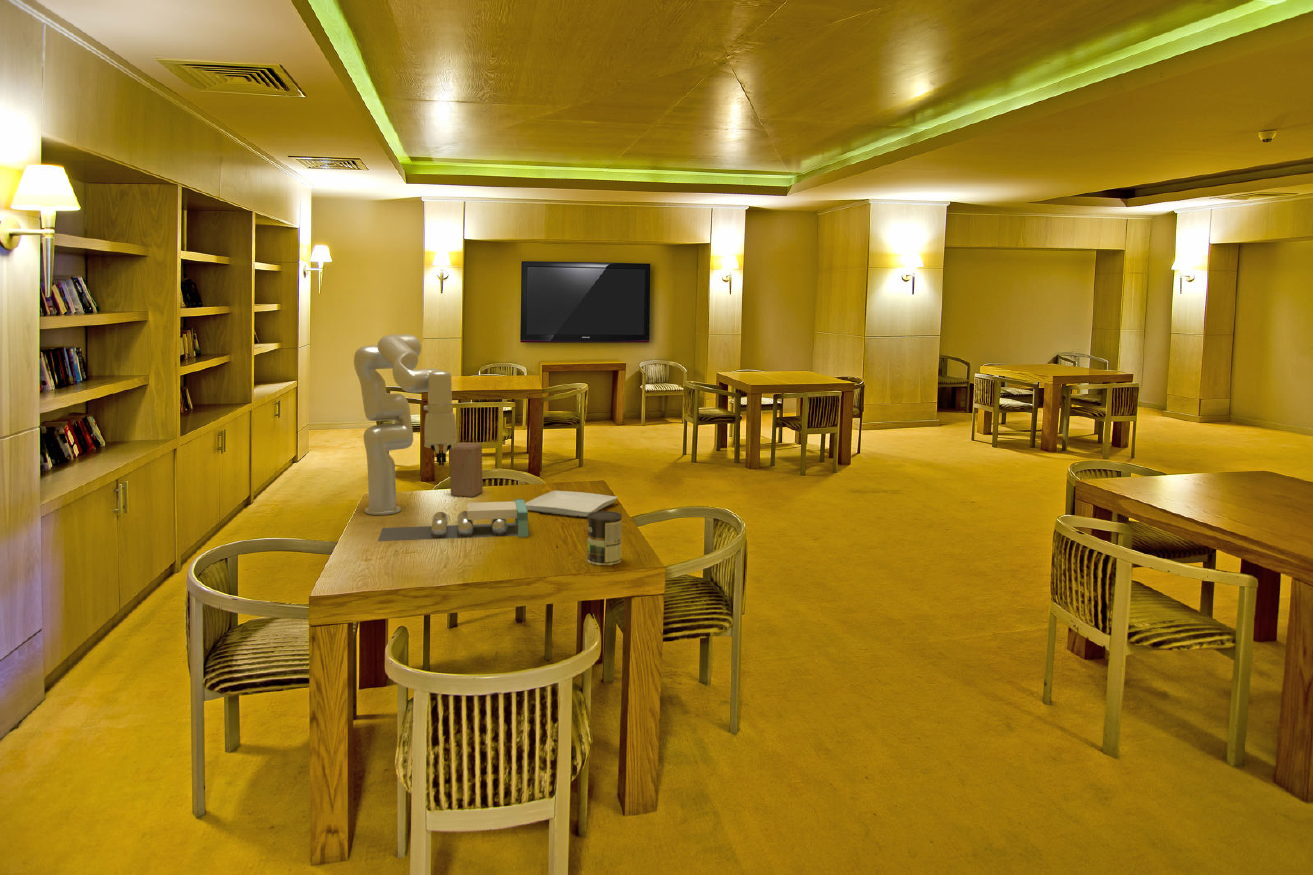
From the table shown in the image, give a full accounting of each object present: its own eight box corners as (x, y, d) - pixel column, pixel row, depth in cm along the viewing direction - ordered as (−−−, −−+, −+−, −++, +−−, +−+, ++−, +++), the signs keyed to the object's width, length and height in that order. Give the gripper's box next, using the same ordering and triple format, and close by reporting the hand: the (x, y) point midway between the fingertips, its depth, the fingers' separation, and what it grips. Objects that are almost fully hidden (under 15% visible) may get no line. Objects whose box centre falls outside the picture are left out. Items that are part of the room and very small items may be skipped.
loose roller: (489, 522, 317) (492, 508, 316) (504, 525, 318) (506, 511, 317) (491, 534, 301) (493, 520, 301) (506, 537, 302) (509, 522, 302)
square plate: (521, 513, 336) (521, 503, 336) (554, 498, 362) (554, 489, 361) (589, 521, 327) (589, 510, 326) (618, 505, 352) (619, 495, 352)
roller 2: (460, 527, 315) (455, 513, 314) (474, 522, 316) (470, 509, 314) (460, 539, 299) (455, 525, 298) (475, 534, 300) (470, 520, 299)
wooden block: (473, 497, 360) (472, 447, 357) (449, 496, 362) (448, 446, 359) (483, 492, 369) (482, 443, 366) (460, 491, 371) (459, 442, 368)
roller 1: (430, 523, 312) (435, 509, 312) (444, 528, 314) (449, 514, 313) (428, 535, 297) (434, 521, 297) (443, 540, 298) (449, 526, 298)
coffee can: (587, 566, 271) (587, 519, 269) (587, 556, 282) (587, 511, 279) (622, 565, 272) (622, 519, 270) (620, 555, 282) (621, 510, 280)
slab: (467, 511, 312) (467, 502, 312) (515, 510, 316) (514, 501, 315) (467, 520, 301) (467, 511, 300) (517, 518, 304) (516, 509, 304)
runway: (382, 527, 312) (382, 503, 311) (526, 522, 322) (525, 498, 320) (377, 544, 292) (376, 517, 290) (530, 538, 301) (530, 512, 300)
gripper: (415, 410, 294) (417, 467, 297) (463, 410, 297) (464, 466, 300) (417, 408, 302) (418, 463, 304) (463, 407, 305) (464, 462, 308)
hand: (441, 464), depth 302 cm, fingers closed
